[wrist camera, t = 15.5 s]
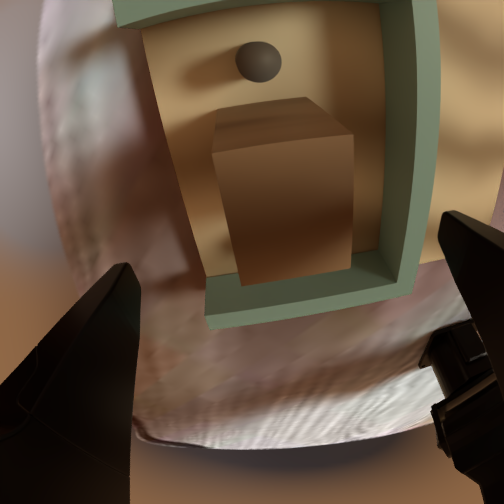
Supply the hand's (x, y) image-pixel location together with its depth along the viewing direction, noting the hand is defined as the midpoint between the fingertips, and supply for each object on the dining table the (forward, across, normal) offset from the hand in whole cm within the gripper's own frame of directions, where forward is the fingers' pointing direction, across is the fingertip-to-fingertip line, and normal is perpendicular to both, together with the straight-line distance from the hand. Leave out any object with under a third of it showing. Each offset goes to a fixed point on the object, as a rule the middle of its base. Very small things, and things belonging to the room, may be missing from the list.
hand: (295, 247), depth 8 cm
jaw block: (+8, 0, 0) cm, 8 cm away
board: (+9, -6, 0) cm, 11 cm away
